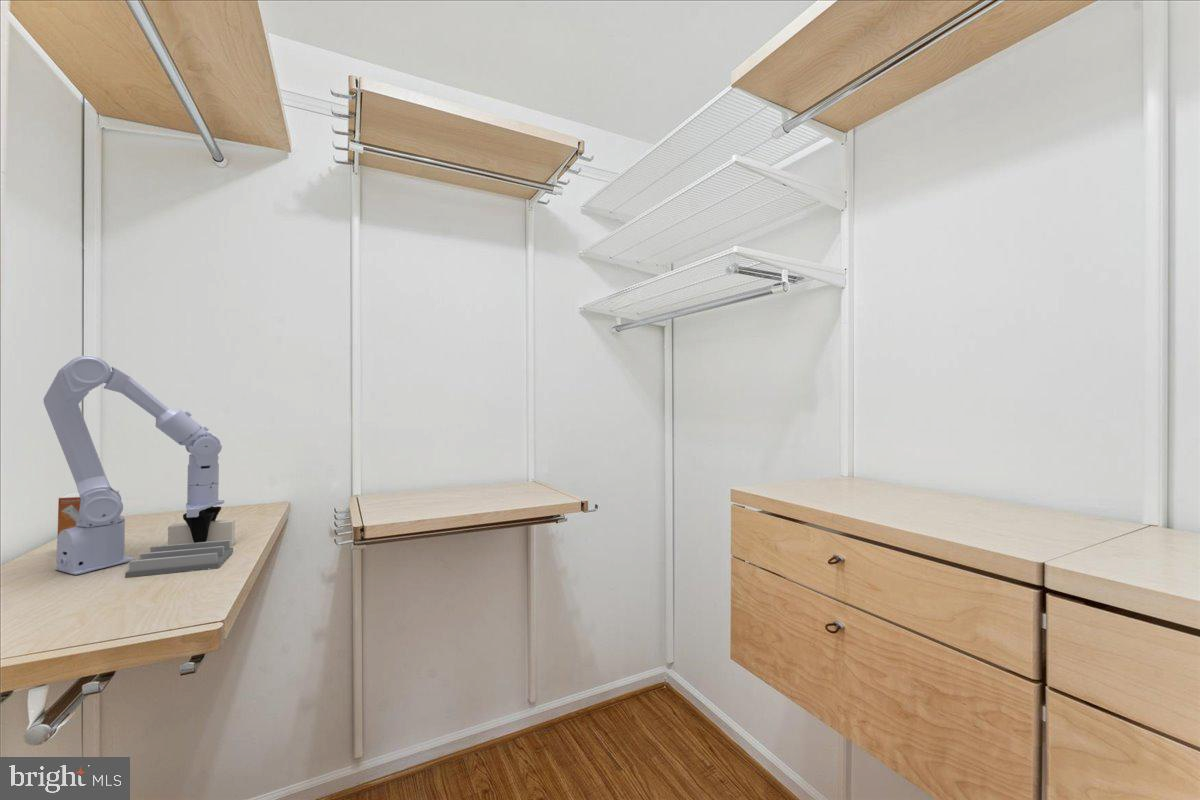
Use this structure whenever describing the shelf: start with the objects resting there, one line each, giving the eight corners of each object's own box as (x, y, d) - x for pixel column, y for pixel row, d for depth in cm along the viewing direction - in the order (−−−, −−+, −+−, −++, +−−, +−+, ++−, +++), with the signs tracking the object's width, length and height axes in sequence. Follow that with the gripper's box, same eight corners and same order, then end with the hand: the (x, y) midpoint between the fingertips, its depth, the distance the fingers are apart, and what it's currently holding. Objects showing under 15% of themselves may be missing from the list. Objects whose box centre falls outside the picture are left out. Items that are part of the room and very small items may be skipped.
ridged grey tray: (125, 577, 95) (125, 562, 95) (149, 559, 105) (149, 546, 105) (218, 568, 101) (218, 553, 101) (233, 551, 111) (233, 539, 111)
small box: (56, 556, 106) (56, 497, 106) (72, 547, 112) (73, 492, 112) (105, 552, 109) (106, 495, 109) (119, 543, 115) (119, 489, 115)
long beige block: (167, 552, 111) (168, 526, 111) (172, 549, 113) (172, 523, 113) (231, 546, 116) (232, 521, 116) (234, 543, 118) (234, 519, 118)
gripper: (214, 488, 109) (213, 547, 109) (232, 477, 122) (231, 530, 123) (174, 490, 106) (174, 551, 106) (197, 479, 119) (196, 533, 120)
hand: (202, 540), depth 114 cm, fingers open, 3 cm apart
